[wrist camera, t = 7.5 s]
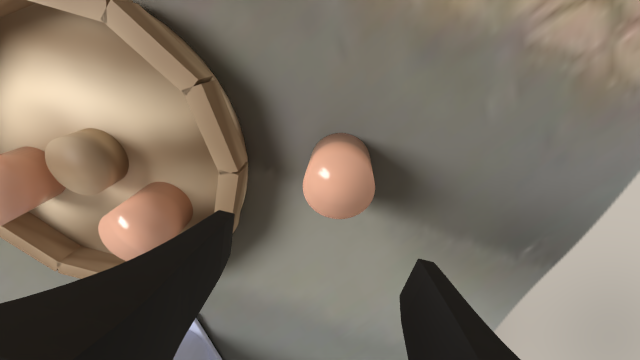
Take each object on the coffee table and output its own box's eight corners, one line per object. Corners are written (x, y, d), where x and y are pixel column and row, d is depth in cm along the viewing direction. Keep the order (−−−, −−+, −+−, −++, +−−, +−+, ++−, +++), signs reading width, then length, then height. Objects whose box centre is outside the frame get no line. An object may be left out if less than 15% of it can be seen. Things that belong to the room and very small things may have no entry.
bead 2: (194, 189, 21) (162, 221, 17) (191, 233, 23) (162, 270, 19) (139, 175, 21) (95, 204, 17) (141, 220, 22) (101, 255, 19)
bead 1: (77, 190, 22) (23, 220, 18) (36, 200, 22) (-24, 231, 19) (43, 140, 20) (-24, 162, 17) (-1, 153, 21) (-73, 176, 17)
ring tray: (285, 242, 23) (278, 266, 21) (79, 277, 27) (51, 301, 24) (163, -74, 15) (125, -96, 12) (-108, 42, 19) (-178, 42, 16)
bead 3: (375, 181, 20) (381, 212, 17) (319, 192, 21) (313, 224, 17) (363, 126, 19) (367, 147, 15) (304, 140, 19) (293, 163, 16)
